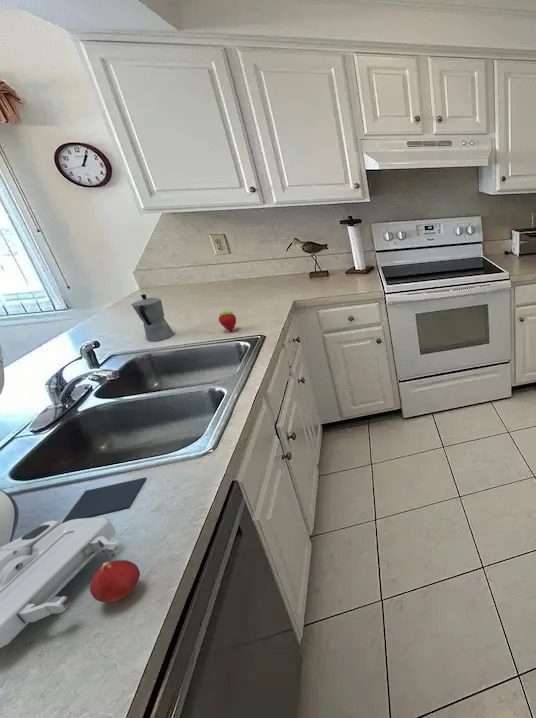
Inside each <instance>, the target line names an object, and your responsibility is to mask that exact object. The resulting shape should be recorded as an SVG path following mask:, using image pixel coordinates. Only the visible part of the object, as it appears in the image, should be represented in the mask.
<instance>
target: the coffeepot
mask: <svg viewBox="0 0 536 718" xmlns="http://www.w3.org/2000/svg"><path fill="white" fill-rule="evenodd" d="M140 297H141V299H139V300H137V301H134V302H133V303H131V304H130V305H131V307H132V308H133V309H134V311H135V313H136V314H137V316H138V317H139V319H140V320H141V321H142V323H143V329H144V334H145V339H146V341H148V342H149V343H150V342H151V343H154V342H161V341H165V340H167V339H170V338H172V337H173V336H175V332H174V331H173V330H172V328H171V326H170V324H169V323H168V322H167V320H166V319H165V317H164V316H165V312H164V307H163V303H162V299H161V298H159V297H147V294H145V293H143V294H141V295H140Z"/></svg>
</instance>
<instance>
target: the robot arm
mask: <svg viewBox="0 0 536 718" xmlns="http://www.w3.org/2000/svg"><path fill="white" fill-rule="evenodd" d="M4 386H5V368H4V358H3V352H2V345H0V395H1V394H2V393H3V389H4ZM19 512H20V511H19V507H18V504H17V502H16V501H15V499H14V498H13V497H12V495H10V494H9V493H7V492H6V491H4V490H3V489H0V649H1V648H3V647H6V646H8V644H9V643H11V642H12V641H13V639H15V637H16V636H17V635H19V633H20V632H21V631H22V630H23V629H25V628H26V626H27V625H28V624H29V623H34V622H37V621H40V620H41V619H44V618H46V617H48V616H50V615H52V614H62V613H64V611H65V610H66V609H67V608H68V607H69V606H70V605H71V604H72V602H71V600H70V599H69V597H67V596H65V595H62V596H59V595H58V594H59V592H61V590H63V588H64V587H65V586H66V585H67V584H68V583H69V582H71V580H72V579H73V578H74V577H75V576H77V574H78V573H80V571H81V570H82V569H83V568H84V567H85V566H86V565H87V564H88V563H89V562H90V561H91V560H92V559H93V558H94V557H95V556H96V555H97V554H98V553H99V552H102V553H103V555H104V557H115V556H116V555H117V554H118V553H119V552H120V551H121V550H122V549H123V546H122V545H121V543H120V542H118V541H110V540H112V538H113V537H114V536H115V535H116V533H117V532H116V531H117V530H116V528H115V526H114V524H113V523H112V521H111V520H110V519H109V518H106V517H89V518H82V519H74V520H70V521H67V522H64V523H62V522H61V523H60V522H59V521H58V520H48V521H46V522H44V523H42V524H40V525H38V526H37V527H35V528H34V529H32V530H31V531H28V532H27V533H26V534H24V535H22V536H20V537H18V538H16V539H15V540H13V539H14V537H15V534H16V530H17V527H18V525H19V524H18V523H19V518H20V517H19V516H20V513H19ZM56 595H58V596H56Z"/></svg>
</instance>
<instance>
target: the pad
mask: <svg viewBox="0 0 536 718" xmlns="http://www.w3.org/2000/svg"><path fill="white" fill-rule="evenodd" d="M147 478H148V477H146V476H145V477H140V478H137V479H131V480H127V481H122V482H118V483H114V484H110V485H103V486H100V487H97V488H92V489H87V490H85V491H84V492H83V494H82V495H81V496H80V497H79V499H78V500H77V501H76V503H75V504H74V505H73V507H72V508H71V510H70V511H69V512H68V513H67V515H66V516H65V517H64V519H63V520H62V522H61V524H62V523H64V522H67V521H70V520H74V519H82V518H95V517H98V516H103V515H107V514H110V513H114V512H119V511H122V510H126V509H130V508H131V506H132V505H133V503H134V501H135V499H136V498H137V496H138V494H139V492H140V491H141V489H142V488H143V486H142V485H144V484H145V482H146V480H147Z"/></svg>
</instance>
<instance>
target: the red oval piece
mask: <svg viewBox="0 0 536 718" xmlns="http://www.w3.org/2000/svg"><path fill="white" fill-rule="evenodd" d="M140 577H141V572H140V569H139V567H138V565H137V564H136V563H134V562H132V561H129V560H127V559H118V560H112V561H106V562H104V563H102V565H101V567H99V568H98V569H97V570H96V571H95V573H94V575H93V577H92V580H91V582H90V585H89V592H90V594H91V597H92V598H93V599H95V600H96V601H97V602H100V603H105V604H107V603H114V602H117V601H120V600H123V599H125V598H127V597H128V596H129V595H130V594H131V593H132V591H133V590H134V589H135V588H136V586H137V585H138V583H139V580H140Z"/></svg>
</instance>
